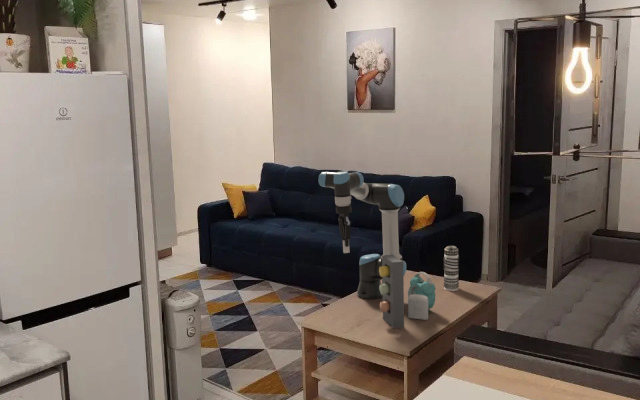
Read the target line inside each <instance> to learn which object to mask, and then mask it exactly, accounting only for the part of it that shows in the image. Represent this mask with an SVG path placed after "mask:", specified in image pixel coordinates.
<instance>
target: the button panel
mask: <svg viewBox="0 0 640 400" xmlns="http://www.w3.org/2000/svg"><path fill="white" fill-rule="evenodd" d="M382 255H383V254H382ZM382 255H381V256H382ZM403 261H404V260H403V259H402V260H400V259H399V258H397V257H395V256H394V255H383V256H382V266H389V267H390V276H384V277H382V279H381V280H382V281H381V284H387V283H388V284H390V294H382V295H383V296H382V302H384V301H389V302H390V311H387V312H382V319H383V321H385V323H386V324H388V326H390V327H391V328H393V329H400V328H405V307H404V306H405V304H404V303H405V300H404V299H405V296H404V295H405V294H404V284H405V283H404V277H403Z"/></svg>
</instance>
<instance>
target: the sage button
mask: <svg viewBox="0 0 640 400" xmlns="http://www.w3.org/2000/svg"><path fill="white" fill-rule="evenodd" d="M379 289H380V293H381V294H390V284H388V283H387V284H382V283H381V284H380V286H379Z"/></svg>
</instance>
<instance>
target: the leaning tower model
mask: <svg viewBox="0 0 640 400" xmlns="http://www.w3.org/2000/svg"><path fill="white" fill-rule="evenodd" d="M459 260H460V255H459V248H457V246H456V245H448V246H446V247H445V248H444V257H443V261H442V262H443V270H444V275H443V278H444V279H443V281H444V282H443V289H444V290H446V291H448V292H455V291H458V290H459V289H460V288H459V287H460V285H459V284H460V277H459V270H460V267H459V266H460V261H459Z"/></svg>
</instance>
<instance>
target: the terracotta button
mask: <svg viewBox="0 0 640 400" xmlns="http://www.w3.org/2000/svg"><path fill="white" fill-rule="evenodd" d="M379 309H380V312H381V313H383V312H387V311H390V302H389V301H384V302H383V301H380V303H379Z"/></svg>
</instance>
